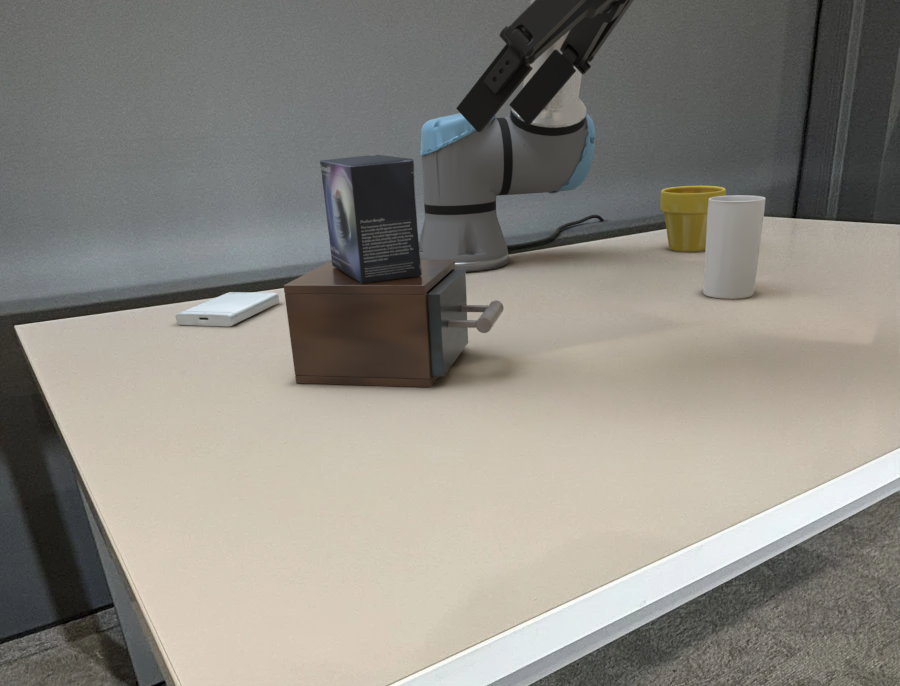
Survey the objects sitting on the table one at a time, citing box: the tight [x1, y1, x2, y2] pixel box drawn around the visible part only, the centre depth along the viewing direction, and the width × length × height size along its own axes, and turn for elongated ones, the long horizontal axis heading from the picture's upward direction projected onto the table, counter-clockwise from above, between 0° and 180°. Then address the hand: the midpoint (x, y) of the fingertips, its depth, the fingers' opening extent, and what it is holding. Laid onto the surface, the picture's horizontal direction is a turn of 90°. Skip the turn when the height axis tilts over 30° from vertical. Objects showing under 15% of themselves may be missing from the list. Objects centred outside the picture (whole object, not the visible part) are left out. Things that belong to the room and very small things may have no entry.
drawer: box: [427, 270, 505, 377], centre depth 79 cm, size 17×11×8 cm
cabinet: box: [283, 260, 455, 388], centre depth 80 cm, size 14×13×10 cm
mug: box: [702, 194, 767, 300], centre depth 103 cm, size 10×7×12 cm, turn 149°
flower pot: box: [659, 185, 727, 253], centre depth 134 cm, size 10×10×10 cm
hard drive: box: [175, 291, 280, 328], centre depth 106 cm, size 2×8×12 cm
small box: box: [319, 154, 422, 284], centre depth 76 cm, size 11×6×10 cm, turn 23°
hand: (495, 117), depth 73 cm, fingers open, 13 cm apart
